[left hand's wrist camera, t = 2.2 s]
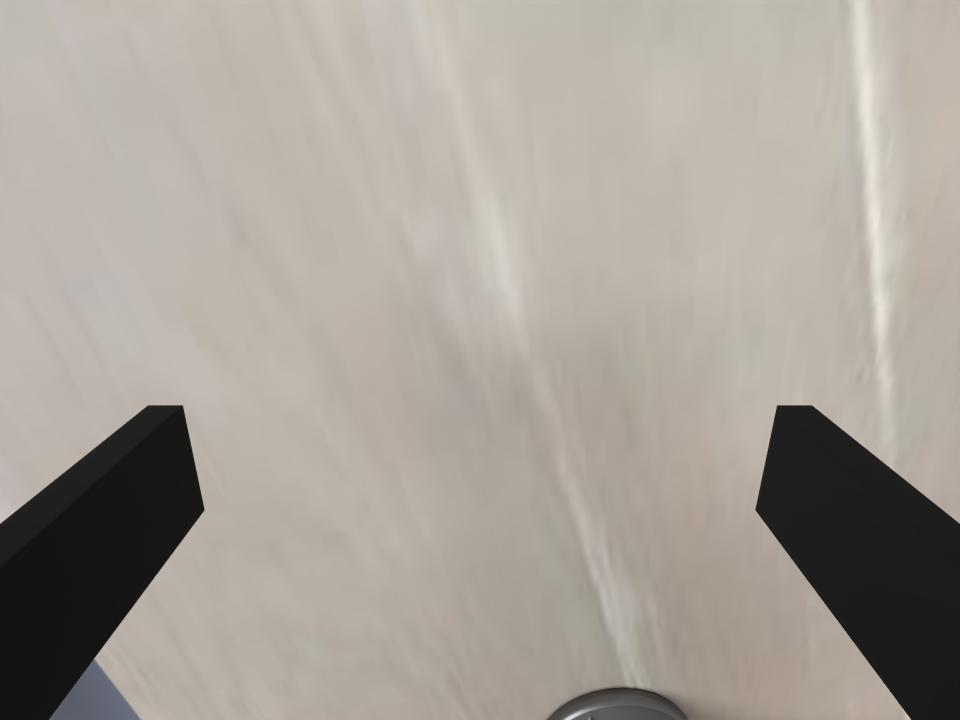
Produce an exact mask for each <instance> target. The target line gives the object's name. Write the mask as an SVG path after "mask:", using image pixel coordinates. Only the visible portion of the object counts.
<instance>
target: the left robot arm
mask: <svg viewBox="0 0 960 720" xmlns="http://www.w3.org/2000/svg"><path fill="white" fill-rule="evenodd" d="M203 512H204V505H203V500H202V495H201V491H200V486H199V481H198V476H197V471H196V467H195V462H194V457H193V452H192V447H191V442H190V438H189V433H188V428H187V423H186V418H185V414H184V409H183V405H148V406H147V407H146V408H144V409H143V410H142V411H141V412H139V413H138V414H137V415H136V416H134V417H133V418H132V419H131V420H129V421H128V422H127V423H126V424H124V425H123V426H122V427H121V428H119V429H118V430H117V431H116V432H114V433H113V434H112V435H111V436H109V437H108V438H107V439H106V440H104V441H103V442H102V443H101V444H99V445H98V446H97V447H96V448H94V449H93V450H92V451H91V452H89V453H88V454H87V455H86V456H84V457H83V458H82V459H81V460H79V461H78V462H77V463H76V464H74V465H73V466H72V467H71V468H69V469H68V470H67V471H66V472H64V473H63V474H62V475H61V476H59V477H58V478H57V479H56V480H54V481H53V482H52V483H51V484H49V485H48V486H47V487H46V488H44V489H43V490H42V491H41V492H39V493H38V494H37V495H36V496H34V497H33V498H32V499H31V500H29V501H28V502H27V503H26V504H24V505H23V506H22V507H21V508H19V509H18V510H17V511H16V512H14V513H13V514H12V515H11V516H9V517H8V518H7V519H6V520H4V521H3V522H2V523H1V524H0V720H49V719H50V717H51V716H52V715H53V713H54V712H55V710H56V709H57V708H58V706H59V705H60V704H61V702H62V701H63V700H64V698H65V697H66V696H67V694H68V693H69V692H70V690H71V689H72V688H73V686H74V685H75V684H76V682H77V681H78V679H79V678H80V677H81V676H82V674H83V673H84V671H85V670H86V669H87V667H88V666H89V665H90V663H91V662H92V661H93V659H94V658H95V657H96V655H97V654H98V653H99V651H100V650H101V649H102V647H103V646H104V645H105V643H106V642H107V641H108V639H109V638H110V637H111V635H112V634H113V633H114V631H115V630H116V628H117V627H118V626H119V624H120V623H121V622H122V620H123V619H124V618H125V616H126V615H127V614H128V612H129V611H130V610H131V608H132V607H133V606H134V604H135V603H136V602H137V600H138V599H139V598H140V596H141V595H142V594H143V592H144V591H145V589H146V588H147V587H148V585H149V584H150V583H151V581H152V580H153V579H154V577H155V576H156V575H157V573H158V572H159V571H160V569H161V568H162V567H163V565H164V564H165V563H166V561H167V560H168V559H169V557H170V556H171V555H172V553H173V552H174V550H175V549H176V548H177V546H178V545H179V544H180V542H181V541H182V540H183V538H184V537H185V536H186V534H187V533H188V532H189V530H190V529H191V528H192V526H193V525H194V524H195V522H196V521H197V520H198V518H199V517H200V516H201V514H202V513H203ZM756 512H757V513H758V514H759V516H760V517H761V518H762V520H763V521H764V522H765V524H766V525H767V526H768V528H769V529H770V530H771V532H772V533H773V534H774V536H775V537H776V538H777V540H778V541H779V542H780V544H781V545H782V546H783V548H784V549H785V550H786V552H787V553H788V555H789V556H790V557H791V559H792V560H793V561H794V563H795V564H796V565H797V567H798V568H799V569H800V571H801V572H802V573H803V575H804V576H805V577H806V579H807V580H808V581H809V583H810V584H811V585H812V587H813V588H814V589H815V591H816V592H817V594H818V595H819V596H820V598H821V599H822V600H823V602H824V603H825V604H826V606H827V607H828V608H829V610H830V611H831V612H832V614H833V615H834V616H835V618H836V619H837V620H838V622H839V623H840V624H841V626H842V627H843V628H844V630H845V631H846V633H847V634H848V635H849V637H850V638H851V639H852V641H853V642H854V643H855V645H856V646H857V647H858V649H859V650H860V651H861V653H862V654H863V655H864V657H865V658H866V659H867V661H868V662H869V663H870V665H871V666H872V667H873V669H874V670H875V671H876V673H877V674H878V676H879V677H880V678H881V680H882V681H883V682H884V684H885V685H886V686H887V688H888V689H889V690H890V692H891V693H892V694H893V696H894V697H895V698H896V700H897V701H898V702H899V704H900V705H901V706H902V708H903V709H904V710H905V712H906V713H907V715H908V716H909V717H910V719H911V720H960V524H959V523H958V522H957V521H956V520H954V519H953V518H952V517H951V516H949V515H948V514H947V513H946V512H944V511H943V510H942V509H941V508H939V507H938V506H937V505H936V504H934V503H933V502H932V501H931V500H929V499H928V498H927V497H926V496H924V495H923V494H922V493H921V492H919V491H918V490H917V489H916V488H914V487H913V486H912V485H911V484H909V483H908V482H907V481H906V480H904V479H903V478H902V477H901V476H899V475H898V474H897V473H896V472H894V471H893V470H892V469H891V468H889V467H888V466H887V465H886V464H884V463H883V462H882V461H881V460H879V459H878V458H877V457H876V456H874V455H873V454H872V453H871V452H869V451H868V450H867V449H866V448H864V447H863V446H862V445H861V444H859V443H858V442H857V441H856V440H854V439H853V438H852V437H851V436H849V435H848V434H847V433H846V432H844V431H843V430H842V429H841V428H839V427H838V426H837V425H836V424H834V423H833V422H832V421H831V420H829V419H828V418H827V417H826V416H824V415H823V414H822V413H821V412H819V411H818V410H817V409H816V408H814V407H813V406H812V405H777V409H776V414H775V418H774V423H773V428H772V433H771V438H770V442H769V447H768V452H767V457H766V462H765V467H764V471H763V476H762V481H761V486H760V491H759V495H758V500H757V505H756ZM548 720H687V718H686V717H685V715H684V714H683V713H682V712H681V710H680V709H679V708H677V707H676V706H675V705H674V704H672V703H671V702H669V701H668V700H666V699H664V698H662V697H660V696H657V695H655V694H652V693H648V692H644V691H639V690H631V689H612V690H604V691H598V692H594V693H590V694H587V695H584V696H581V697H579V698H576V699H574V700H572V701H570V702H569V703H567V704H565V705H564V706H562V707H561V708H560V709H558V710H557V711H556V712H555V713H554V714H553V715H552V716H551V717H550V718H549V719H548Z"/></svg>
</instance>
